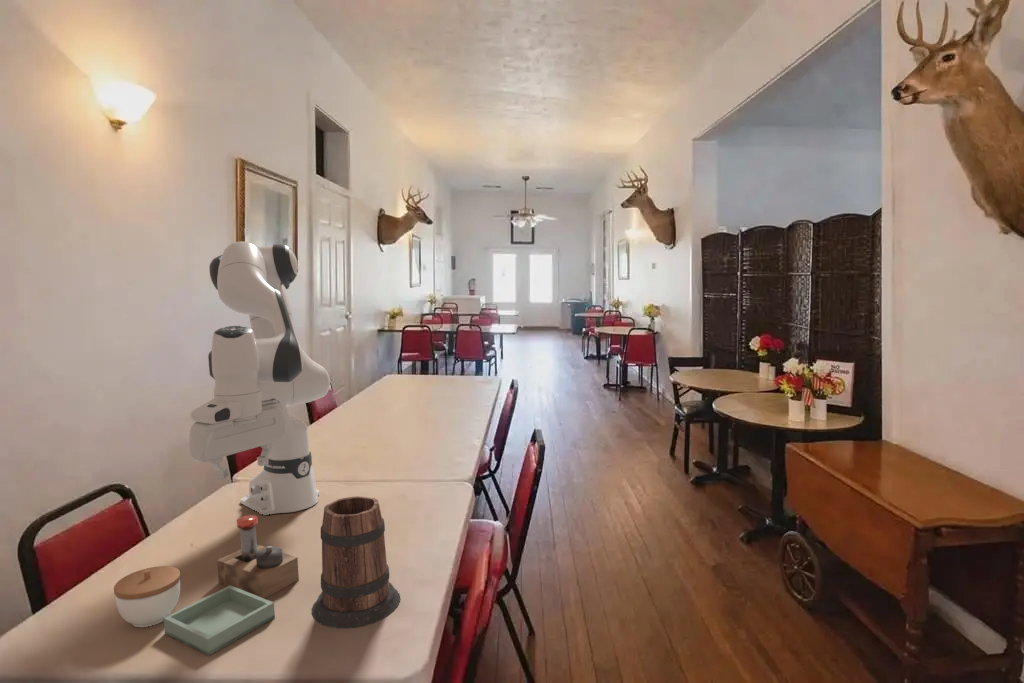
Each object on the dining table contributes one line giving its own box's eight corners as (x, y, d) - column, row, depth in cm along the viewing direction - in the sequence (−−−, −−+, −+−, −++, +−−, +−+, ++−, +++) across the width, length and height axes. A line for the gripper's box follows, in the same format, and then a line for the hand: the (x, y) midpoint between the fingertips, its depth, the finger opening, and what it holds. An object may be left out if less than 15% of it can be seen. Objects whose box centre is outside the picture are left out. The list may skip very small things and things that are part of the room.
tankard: (409, 615, 114) (405, 512, 112) (315, 637, 108) (309, 529, 106) (384, 562, 136) (380, 475, 134) (304, 578, 129) (299, 486, 127)
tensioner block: (218, 582, 128) (215, 544, 127) (256, 564, 136) (253, 528, 135) (262, 599, 121) (259, 559, 120) (298, 580, 128) (296, 541, 127)
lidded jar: (136, 604, 120) (132, 559, 119) (192, 601, 121) (189, 556, 120) (104, 637, 109) (99, 587, 108) (167, 632, 110) (162, 583, 109)
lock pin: (237, 580, 129) (232, 520, 127) (253, 572, 132) (249, 513, 131) (249, 585, 127) (244, 524, 125) (265, 576, 130) (261, 517, 129)
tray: (164, 633, 110) (163, 617, 110) (231, 599, 121) (230, 585, 121) (209, 655, 103) (207, 639, 103) (274, 617, 114) (273, 602, 114)
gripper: (271, 395, 136) (275, 456, 137) (182, 414, 118) (187, 483, 120) (290, 397, 133) (294, 459, 134) (201, 417, 115) (207, 488, 117)
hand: (243, 471), depth 127 cm, fingers open, 8 cm apart
